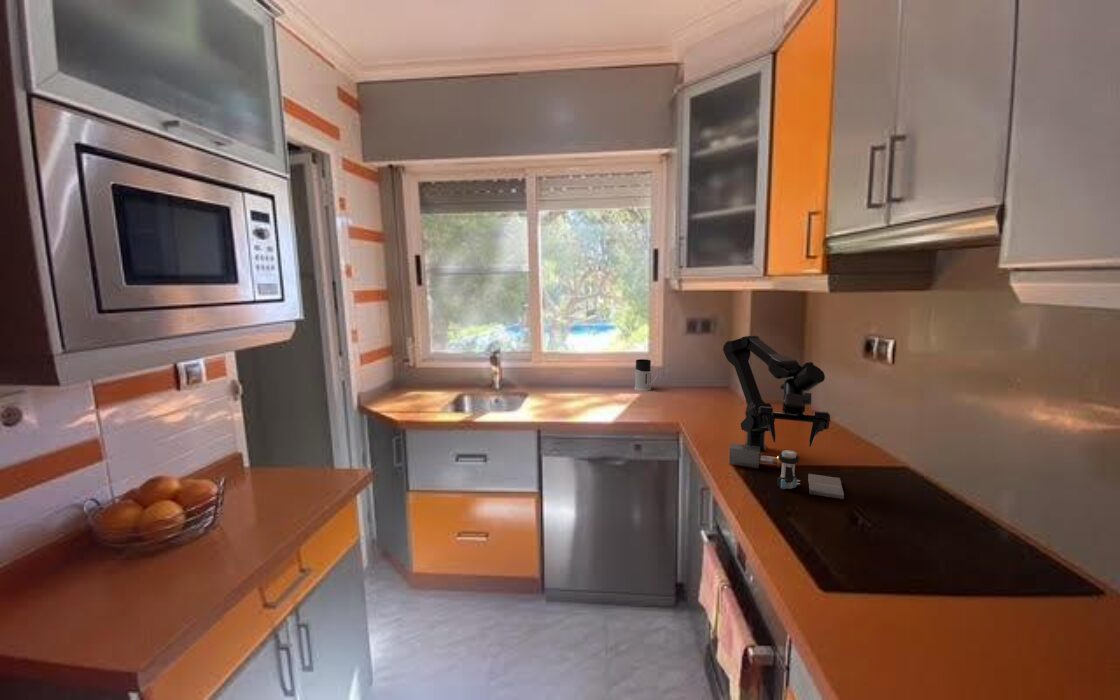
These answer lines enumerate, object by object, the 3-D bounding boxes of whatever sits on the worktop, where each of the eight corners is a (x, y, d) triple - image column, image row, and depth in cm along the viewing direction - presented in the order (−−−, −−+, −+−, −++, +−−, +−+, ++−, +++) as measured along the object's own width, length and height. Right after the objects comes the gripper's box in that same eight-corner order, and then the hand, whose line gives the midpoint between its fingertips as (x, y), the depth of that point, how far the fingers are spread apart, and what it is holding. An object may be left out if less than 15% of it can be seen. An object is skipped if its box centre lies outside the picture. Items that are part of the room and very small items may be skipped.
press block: (730, 458, 161) (731, 443, 160) (759, 462, 158) (760, 446, 157) (729, 464, 157) (729, 448, 156) (758, 468, 153) (759, 451, 153)
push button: (792, 481, 143) (795, 447, 142) (806, 489, 138) (808, 454, 137) (772, 484, 142) (774, 450, 140) (785, 491, 137) (787, 456, 135)
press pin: (749, 460, 158) (749, 450, 158) (779, 464, 155) (780, 454, 154) (748, 464, 155) (748, 453, 155) (779, 468, 152) (780, 457, 151)
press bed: (808, 477, 146) (808, 467, 146) (839, 482, 143) (840, 471, 142) (809, 494, 135) (810, 483, 134) (843, 499, 131) (844, 488, 131)
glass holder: (642, 386, 267) (642, 358, 265) (663, 390, 256) (663, 361, 254) (630, 388, 262) (631, 360, 260) (652, 393, 251) (652, 363, 249)
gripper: (760, 379, 148) (756, 425, 140) (831, 384, 141) (832, 433, 133) (760, 399, 157) (756, 444, 148) (827, 405, 149) (828, 453, 141)
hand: (792, 443), depth 142 cm, fingers open, 9 cm apart
